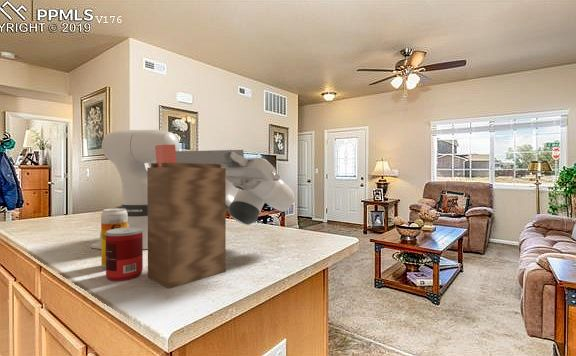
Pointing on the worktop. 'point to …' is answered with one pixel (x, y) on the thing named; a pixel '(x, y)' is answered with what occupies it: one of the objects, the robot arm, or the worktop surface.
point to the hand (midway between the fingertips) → (224, 154)
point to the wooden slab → (186, 222)
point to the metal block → (192, 156)
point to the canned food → (124, 253)
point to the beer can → (111, 226)
